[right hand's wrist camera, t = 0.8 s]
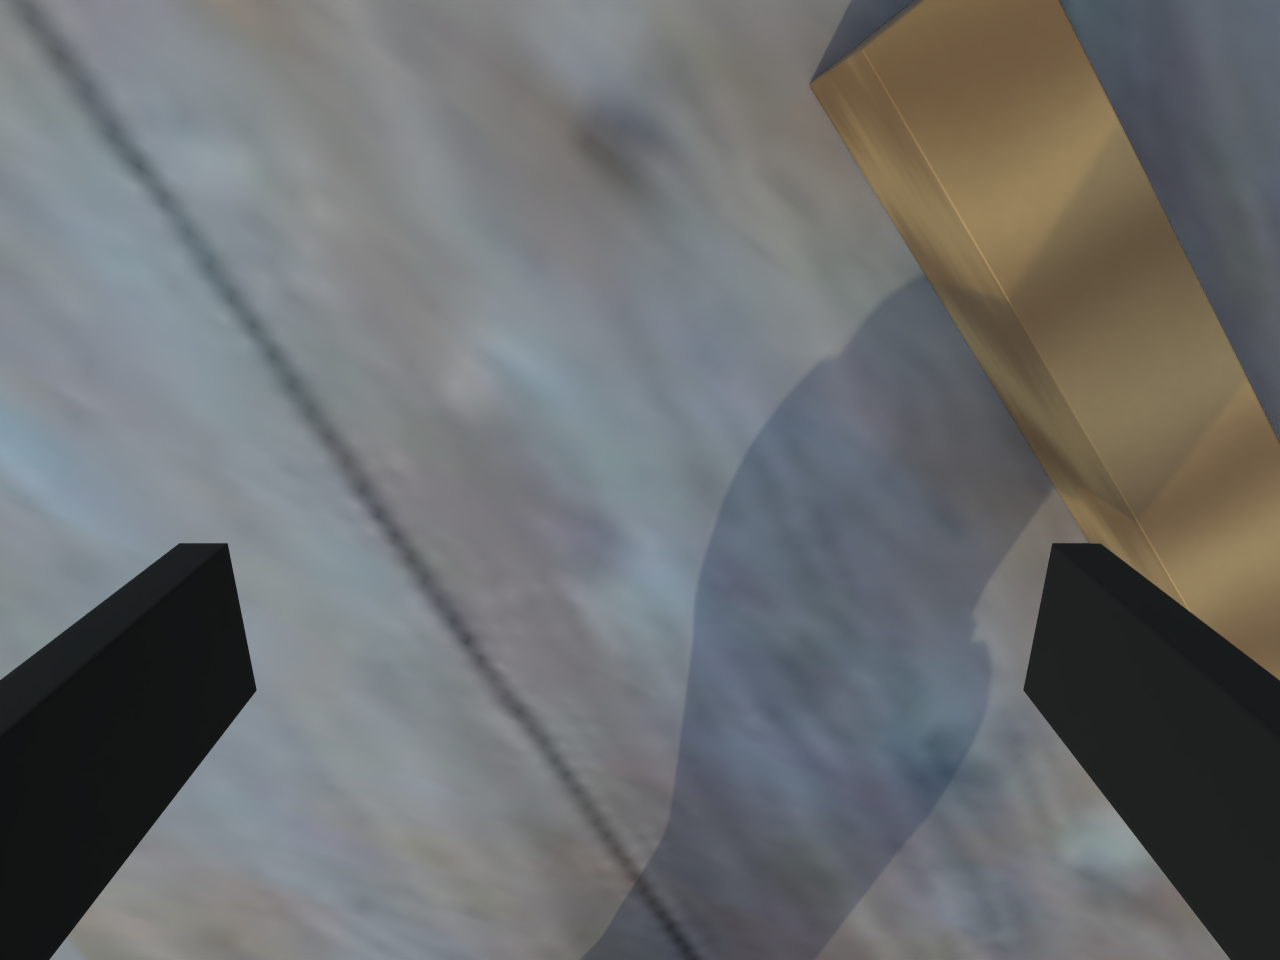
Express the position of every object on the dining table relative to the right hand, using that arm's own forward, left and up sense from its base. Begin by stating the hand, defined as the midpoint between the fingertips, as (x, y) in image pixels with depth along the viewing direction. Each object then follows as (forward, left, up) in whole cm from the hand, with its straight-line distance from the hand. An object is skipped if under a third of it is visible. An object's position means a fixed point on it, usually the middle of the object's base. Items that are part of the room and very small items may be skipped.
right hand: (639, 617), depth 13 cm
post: (-4, +34, -22) cm, 40 cm away
